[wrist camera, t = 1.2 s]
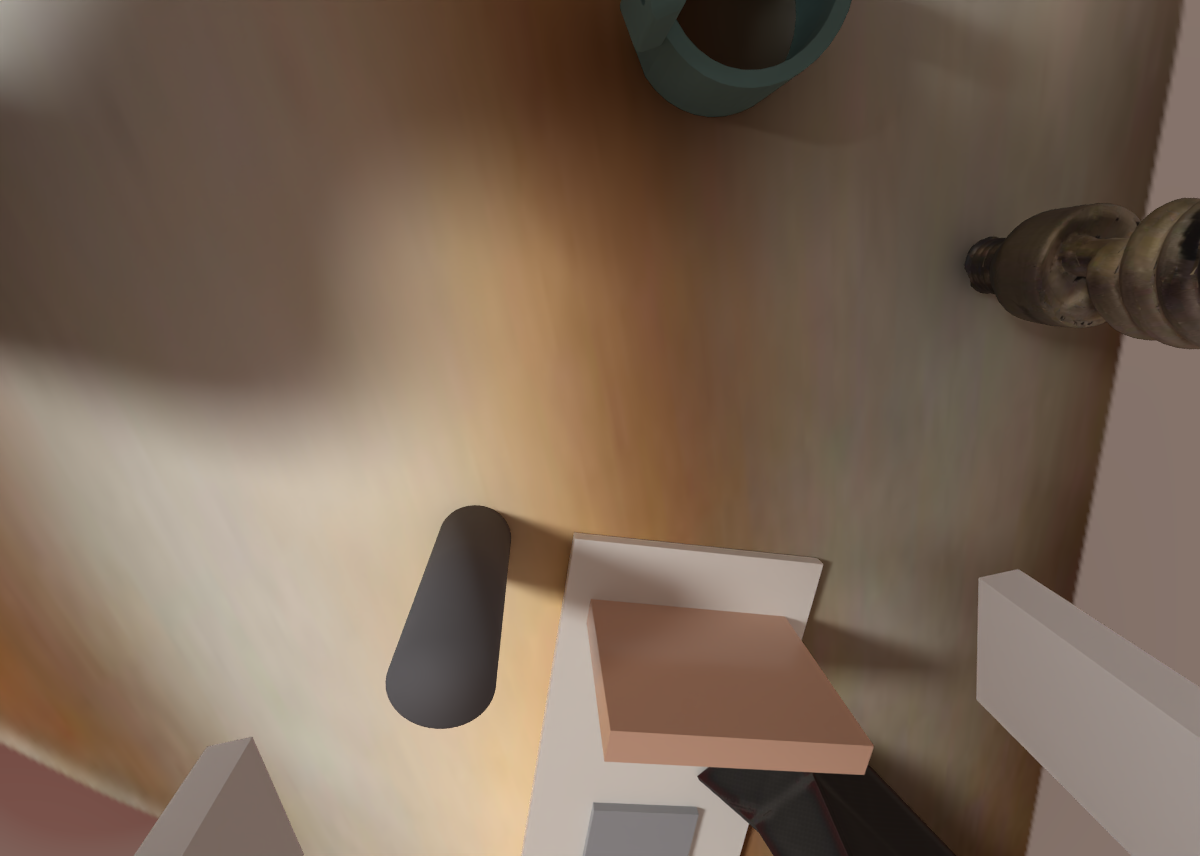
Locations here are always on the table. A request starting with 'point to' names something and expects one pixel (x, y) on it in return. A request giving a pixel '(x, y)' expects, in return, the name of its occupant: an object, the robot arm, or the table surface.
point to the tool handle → (454, 624)
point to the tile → (716, 692)
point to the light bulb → (1100, 270)
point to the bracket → (709, 83)
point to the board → (571, 723)
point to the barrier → (824, 813)
